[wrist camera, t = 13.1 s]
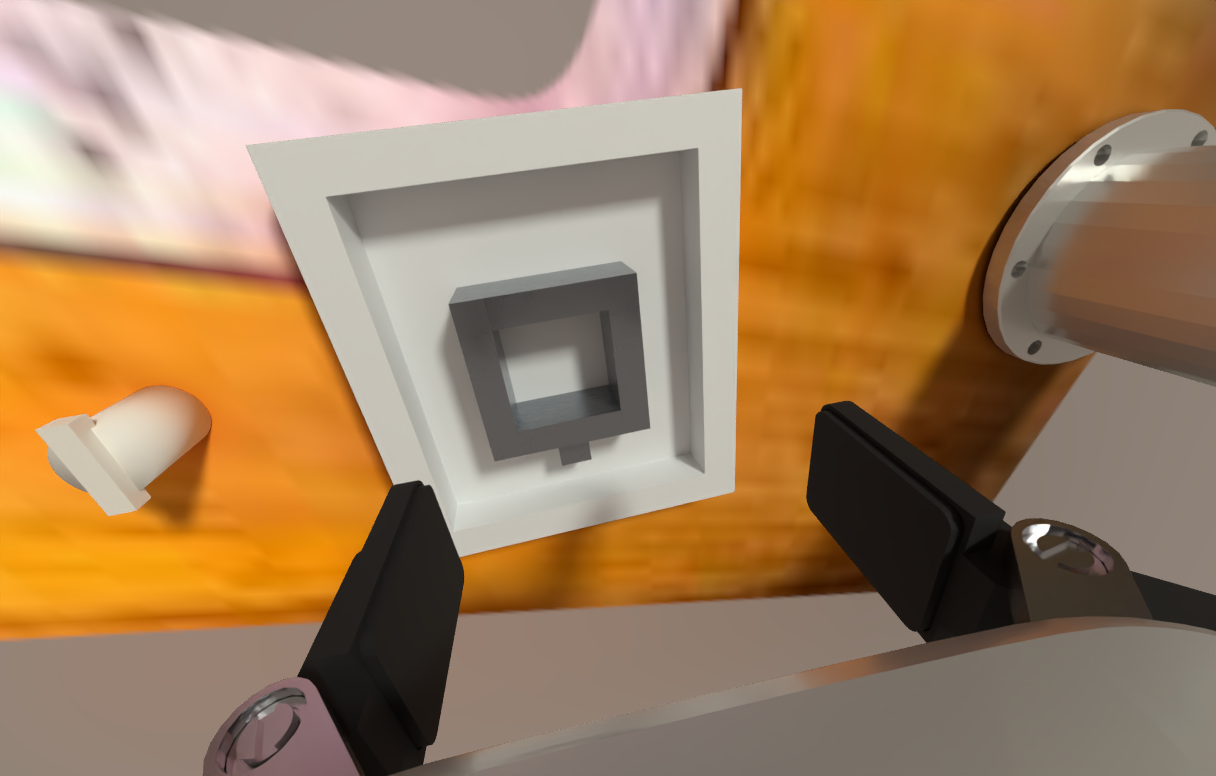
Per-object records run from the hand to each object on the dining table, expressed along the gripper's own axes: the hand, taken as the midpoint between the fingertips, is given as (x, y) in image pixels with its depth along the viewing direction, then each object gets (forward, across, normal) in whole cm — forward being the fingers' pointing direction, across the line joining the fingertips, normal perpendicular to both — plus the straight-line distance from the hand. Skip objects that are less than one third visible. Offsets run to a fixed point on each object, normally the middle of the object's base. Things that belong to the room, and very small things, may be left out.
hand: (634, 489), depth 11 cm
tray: (+11, +2, 0) cm, 11 cm away
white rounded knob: (+10, +18, 0) cm, 20 cm away
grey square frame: (+10, +2, 0) cm, 10 cm away
